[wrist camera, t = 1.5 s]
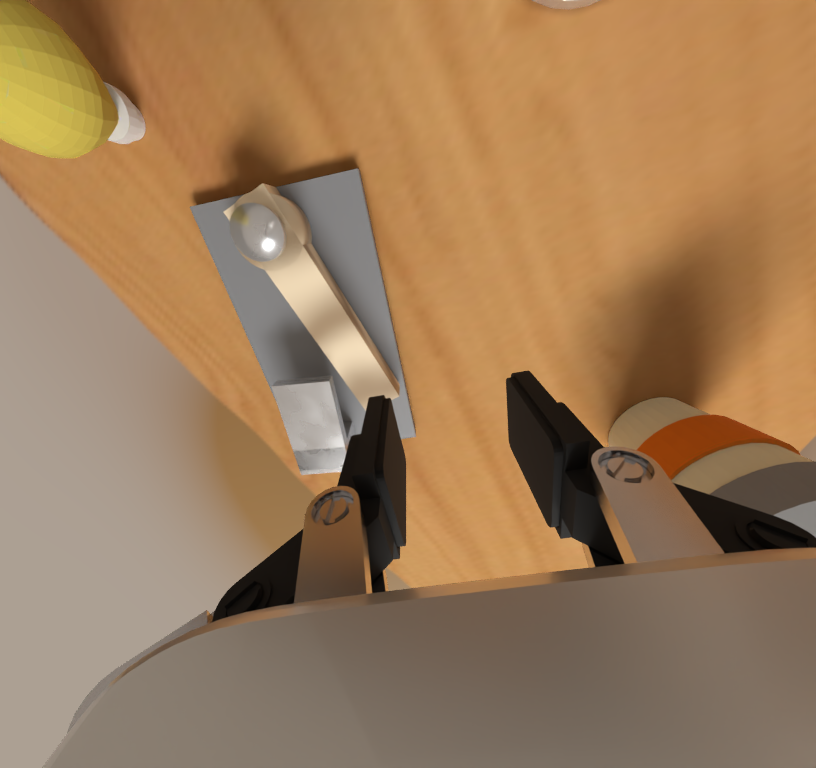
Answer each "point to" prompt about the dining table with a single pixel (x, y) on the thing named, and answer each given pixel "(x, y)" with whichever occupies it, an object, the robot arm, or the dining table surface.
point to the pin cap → (257, 232)
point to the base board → (348, 265)
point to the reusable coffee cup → (721, 458)
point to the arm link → (321, 301)
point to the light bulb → (55, 90)
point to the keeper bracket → (314, 423)
